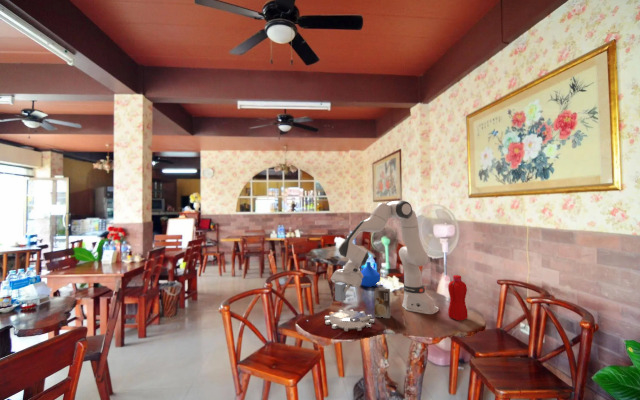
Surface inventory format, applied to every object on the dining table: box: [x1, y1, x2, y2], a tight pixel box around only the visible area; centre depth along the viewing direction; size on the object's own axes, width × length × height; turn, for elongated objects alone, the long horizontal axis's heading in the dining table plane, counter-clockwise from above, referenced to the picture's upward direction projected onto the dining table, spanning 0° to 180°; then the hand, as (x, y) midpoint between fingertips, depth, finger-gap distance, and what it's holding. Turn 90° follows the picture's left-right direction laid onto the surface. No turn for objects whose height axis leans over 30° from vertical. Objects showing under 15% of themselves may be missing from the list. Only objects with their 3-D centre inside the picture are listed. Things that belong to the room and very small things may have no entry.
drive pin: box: [334, 282, 347, 303], centre depth 181 cm, size 4×4×10 cm
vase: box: [360, 261, 381, 288], centre depth 251 cm, size 18×18×19 cm
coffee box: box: [373, 287, 392, 319], centre depth 184 cm, size 9×6×16 cm
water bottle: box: [447, 274, 469, 322], centre depth 179 cm, size 9×11×25 cm
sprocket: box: [324, 309, 375, 332], centre depth 177 cm, size 29×29×2 cm
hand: (340, 290), depth 181 cm, fingers closed on drive pin, 4 cm apart
